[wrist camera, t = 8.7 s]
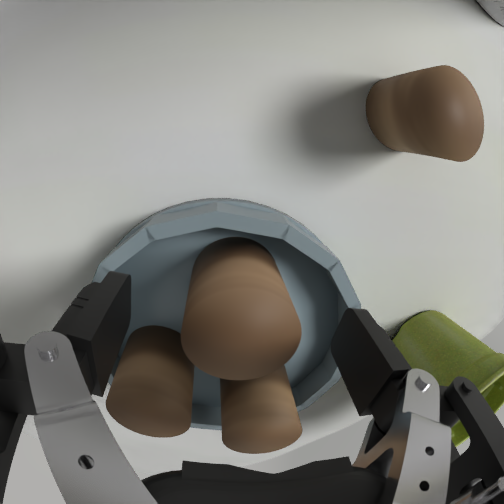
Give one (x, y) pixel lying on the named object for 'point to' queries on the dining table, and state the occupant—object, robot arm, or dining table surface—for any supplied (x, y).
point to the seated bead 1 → (153, 384)
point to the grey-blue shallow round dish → (179, 274)
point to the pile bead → (427, 113)
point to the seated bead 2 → (259, 413)
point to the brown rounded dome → (238, 312)
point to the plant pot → (452, 358)
